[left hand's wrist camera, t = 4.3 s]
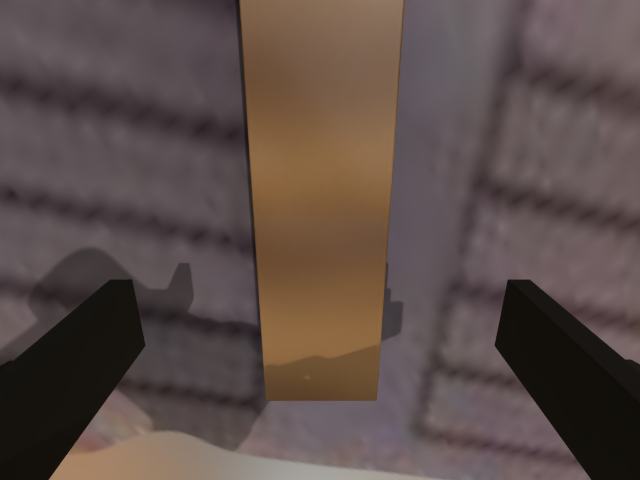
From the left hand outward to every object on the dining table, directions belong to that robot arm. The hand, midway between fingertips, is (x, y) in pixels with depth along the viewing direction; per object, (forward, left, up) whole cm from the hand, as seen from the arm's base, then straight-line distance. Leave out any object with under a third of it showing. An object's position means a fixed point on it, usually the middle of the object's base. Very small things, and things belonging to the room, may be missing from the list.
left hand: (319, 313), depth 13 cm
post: (+2, +18, -12) cm, 22 cm away
